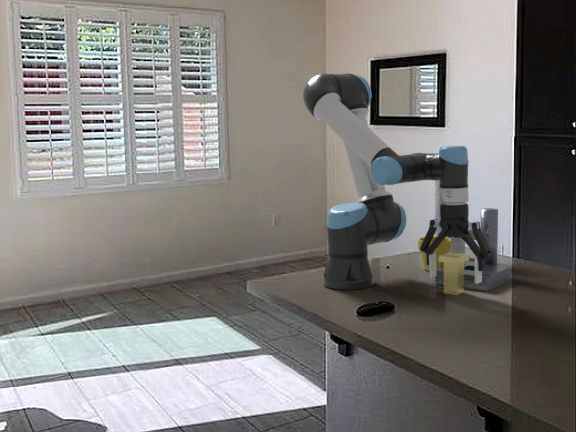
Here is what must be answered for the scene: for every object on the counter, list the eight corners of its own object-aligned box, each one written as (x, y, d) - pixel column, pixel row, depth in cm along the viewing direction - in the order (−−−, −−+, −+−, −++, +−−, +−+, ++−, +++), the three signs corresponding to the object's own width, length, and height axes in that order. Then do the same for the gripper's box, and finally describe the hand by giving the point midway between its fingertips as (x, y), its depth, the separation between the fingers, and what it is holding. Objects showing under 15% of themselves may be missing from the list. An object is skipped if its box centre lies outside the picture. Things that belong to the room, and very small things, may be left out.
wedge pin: (438, 293, 186) (438, 255, 184) (449, 288, 190) (449, 252, 189) (458, 296, 182) (458, 258, 180) (468, 291, 186) (469, 254, 185)
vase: (470, 259, 226) (470, 179, 222) (442, 261, 225) (442, 180, 221) (457, 253, 236) (457, 176, 232) (430, 255, 234) (430, 178, 230)
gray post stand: (433, 283, 197) (433, 215, 194) (466, 269, 212) (466, 206, 210) (487, 291, 186) (487, 220, 183) (517, 276, 202) (518, 210, 199)
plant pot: (455, 267, 216) (455, 237, 214) (444, 274, 207) (444, 243, 206) (425, 264, 221) (424, 235, 220) (413, 271, 213) (412, 240, 211)
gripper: (406, 202, 188) (408, 277, 191) (492, 206, 172) (492, 288, 174) (420, 199, 193) (421, 272, 196) (504, 203, 177) (504, 282, 180)
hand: (455, 279), depth 185 cm, fingers open, 13 cm apart
